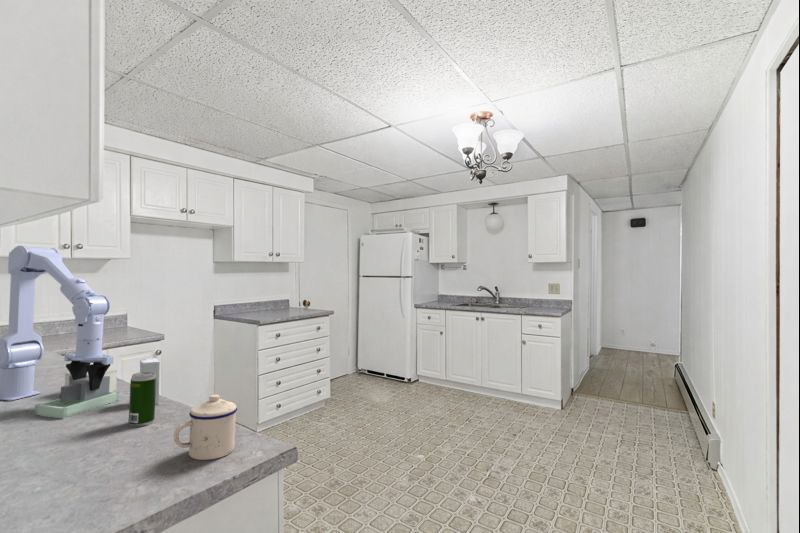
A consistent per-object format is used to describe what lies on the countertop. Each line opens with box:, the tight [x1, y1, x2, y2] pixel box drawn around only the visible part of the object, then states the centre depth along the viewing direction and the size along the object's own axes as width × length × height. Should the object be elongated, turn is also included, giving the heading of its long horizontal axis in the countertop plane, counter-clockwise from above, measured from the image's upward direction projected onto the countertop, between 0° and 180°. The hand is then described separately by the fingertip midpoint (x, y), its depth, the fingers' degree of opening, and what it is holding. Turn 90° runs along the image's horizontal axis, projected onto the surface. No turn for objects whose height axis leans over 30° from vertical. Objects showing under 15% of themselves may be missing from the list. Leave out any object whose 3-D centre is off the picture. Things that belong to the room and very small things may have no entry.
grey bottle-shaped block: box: [59, 376, 110, 403], centre depth 108 cm, size 4×11×5 cm, turn 168°
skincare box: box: [139, 358, 161, 406], centre depth 112 cm, size 6×4×12 cm
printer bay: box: [64, 368, 118, 392], centre depth 120 cm, size 10×8×6 cm
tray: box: [34, 391, 119, 420], centre depth 107 cm, size 9×15×2 cm, turn 168°
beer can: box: [128, 372, 156, 428], centre depth 97 cm, size 5×5×12 cm
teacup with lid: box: [173, 394, 238, 461], centre depth 82 cm, size 12×9×12 cm
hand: (87, 388), depth 109 cm, fingers closed on grey bottle-shaped block, 4 cm apart
